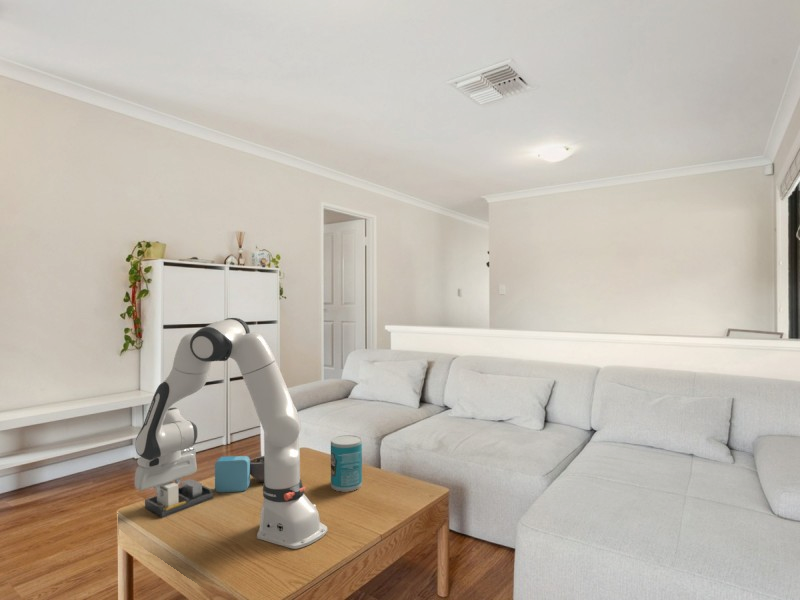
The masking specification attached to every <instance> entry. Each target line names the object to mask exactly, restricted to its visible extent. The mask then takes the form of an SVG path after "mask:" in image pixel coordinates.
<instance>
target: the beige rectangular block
mask: <svg viewBox="0 0 800 600" xmlns="http://www.w3.org/2000/svg"><path fill="white" fill-rule="evenodd" d="M178 488H179V485H178V484H176V483H175V482H173V481H170V482H167V483H163V484H160V488H159V489H160V490H162V491H164V493H163V494H164V496H162V497H157V501H158V502H160V503H161V504H163V505H165V506H167V507H170V506H172V505H175V504H178Z"/></svg>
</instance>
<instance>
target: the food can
mask: <svg viewBox="0 0 800 600" xmlns="http://www.w3.org/2000/svg"><path fill="white" fill-rule="evenodd" d="M362 441H363V440H362V438H361V436H357V435H352V434H346V435H345V434H343V435H337V436H334V437H333V438H331V440H330V487H331V489H332V490H333V489H334V491H335V490H336V491H335V492H339V491H342V492H341V493H349V492H348V491H351V492H354V490H355V491H357V490H359V489H360V488H361V487H362V484H363V464H362V463H363V462H362V461H363V453H362V452H363V450H362V449H363V448H362V446H363V443H362ZM358 488H359V489H358ZM356 489H357V490H356Z"/></svg>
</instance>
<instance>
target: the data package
mask: <svg viewBox="0 0 800 600" xmlns="http://www.w3.org/2000/svg"><path fill="white" fill-rule="evenodd" d="M250 460H251V459H250V457H249V456H247V455H238V456H237V455H236V456H234V455H232V456H220V457H219V458H218V459H217V460H216V461H215V464H214V490H215V491H216V493H231V492H234V493H235V492H245V491H247V490H248V489H249V487H250V484H251V474H250Z"/></svg>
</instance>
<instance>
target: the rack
mask: <svg viewBox="0 0 800 600" xmlns="http://www.w3.org/2000/svg"><path fill="white" fill-rule="evenodd" d="M180 485H181V487H178V504H175V505H172V506H170V507H167V506H165V505H163V504H161V503H160V502H158V501H157V495H154V496H152V497H148V498H145V499H144V509H146V510H147V511H149V512H151V513H153V514H154V515H156V516H158V517H160V518H161V519H163V518H166V517H168V516H171V515H174V514H176V513H178V512H182V511H184V510H186V509H188V508H191V507H194V506H196V505H199V504H202V503H205V502H207V501H209V500H212V499H214V493H213V491H212V488H209V487H207V486H205V485H203V484H202V483H201V482H199V481H197V480H194V479H191V478H189V479H185V480H183V481H182V480H181V481H180Z"/></svg>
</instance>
